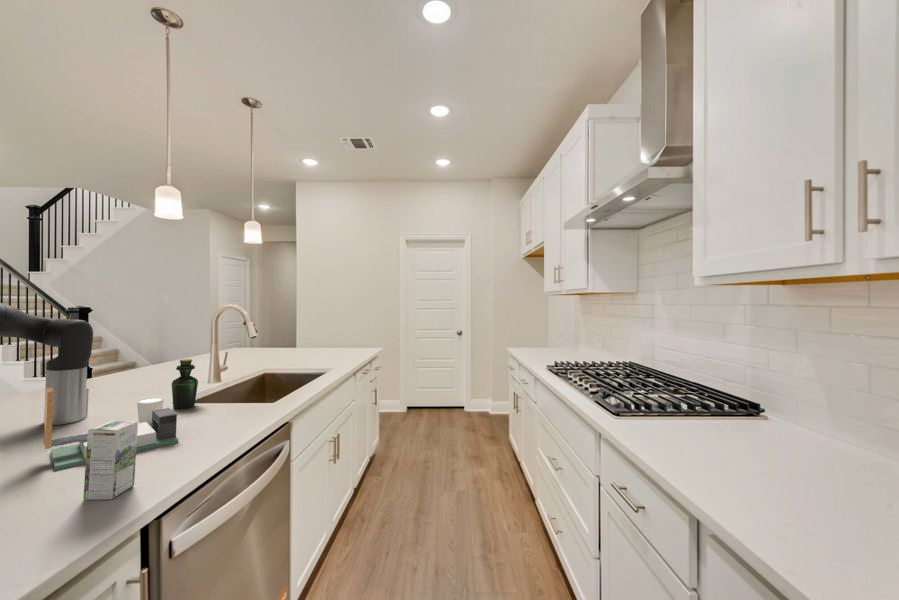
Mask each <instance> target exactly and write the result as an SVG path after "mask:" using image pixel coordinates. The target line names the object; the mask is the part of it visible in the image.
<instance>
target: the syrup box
mask: <svg viewBox="0 0 899 600" xmlns="http://www.w3.org/2000/svg"><path fill="white" fill-rule="evenodd" d="M138 423H139V421H132V420H112V421H108V422H107V423H104V424H101V425H99V426H96V427H93V428H91V429H88V431H87V433H88V436H87V451H86V464H85V469H84V470H85V471H84V482H83V483H84V485H83V486H84V487H83V500H84V501H85V500H86V501H90V500H91V501H92V500H93V501H100V500H101V501H102V500H103V501H105V500H114V499H115V498H117V497H118V496H120V495H122V494H123V493H124V492H126V491H128V490H129V489H131V488H132V487H134V486H135V477H136V476H135V475H136V460H137V452H136V446H137V430H138Z"/></svg>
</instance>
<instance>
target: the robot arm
mask: <svg viewBox="0 0 899 600" xmlns="http://www.w3.org/2000/svg"><path fill="white" fill-rule="evenodd" d="M0 337H2V338H3V337H4V338H16V339H17V338H18V339H23V340H26V341H27V340H28V341H31V342H34V343H40V344H42V345H45V346H50V347H54V348H59V352H58V355H57V356H56V357H53V358H51V359H49V360H48V361H47V362H46V366H45V368H46V369H45V386H44V387H45V389H44V390H45V391H44V393H45V394H44V410H43V411H44V413H43V424H44V425H45V407H46V388H51V387H52V388H53V391H54V397H53V419H52V426H55V425H56V426H57V425H58V426H59V425H66V424H72V423H76V422H80V421H82V420H84V419H85V418H86V417H88V414H89V412H88V411H89V393H90V391H89V390H90V389H89V388H87V378H88V362H89V360H90V358H91V357H92V349H93V341H94V330H93V327H92V325H91V323H89V322H88V321H86V320H84V319H83V320H82V319H74V318H73V319H67V318H51V317H43V316H36V315H32V314H30V313H29V314H28V313H26V312H24V311H22V310H21V309H18V308H17V307H14V306H12V305H10V304H6V303H4V302H0Z"/></svg>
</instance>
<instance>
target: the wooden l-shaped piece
mask: <svg viewBox="0 0 899 600" xmlns="http://www.w3.org/2000/svg"><path fill="white" fill-rule="evenodd" d="M53 397H54V391H53V388H52V387H51V388H46V407H45V406H44V408H45V424H44V433H43V435H44V436H43V446H44V450H49V449H52V447H58V446H59V447H60V446H64V445H68V444H69V445H70V444H73V443H79V442H80V441H85V440H87V436H88V432H86V433H87V434H82V433H80V434H81V435H80V434H77V435H70V436H66V437H60V438H55V439H53V425H52V419H53Z"/></svg>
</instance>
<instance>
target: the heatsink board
mask: <svg viewBox="0 0 899 600" xmlns="http://www.w3.org/2000/svg"><path fill="white" fill-rule="evenodd" d="M177 419H178V414H177V413H176V412H175V411H173V410H172V409H171V408H170V407H168V408H167V407H166V408H162V409H160V410H154V411H152V423H151V424H148V423H147V422H143V423H139V422H138V430H137V446H136V453H138V452H143V451H146V450H151V449H155V448H156V449H157V448H160V447H165V446H169V445H174V444H178V443H179V438H178V437H177V423H178V422H177ZM87 433H88V432H83V433H79V435H81V434H87ZM50 449H51V450H50V453H51V455H50V456H51V460H52V463H53V464H52V465H53V469H54V471H58V470H59V471H60V470H63V469H68V468H72V467H76V466H81V465H86V451H87V440H85V441H80V442H78V443H77V444H74V445H73V444H72V445H67V446H62V447H56V448H53V449H52V448H50Z"/></svg>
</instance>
